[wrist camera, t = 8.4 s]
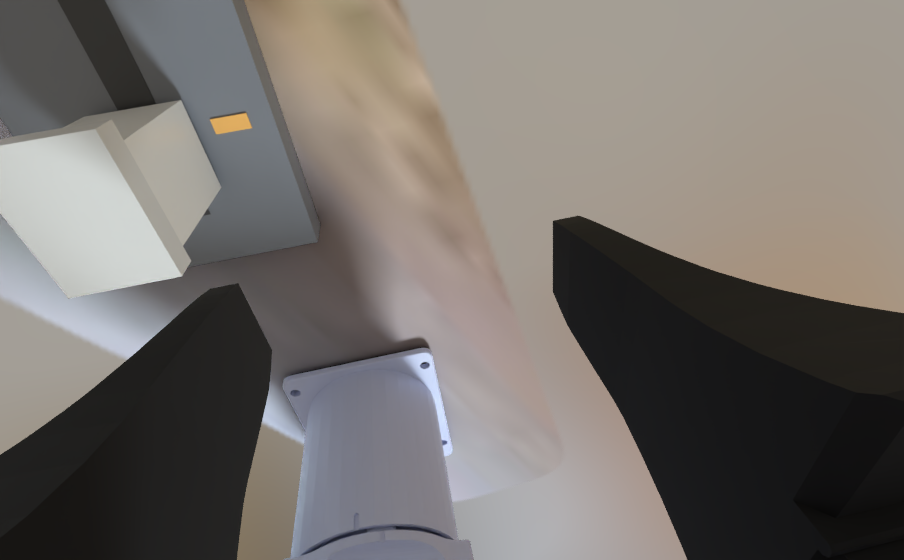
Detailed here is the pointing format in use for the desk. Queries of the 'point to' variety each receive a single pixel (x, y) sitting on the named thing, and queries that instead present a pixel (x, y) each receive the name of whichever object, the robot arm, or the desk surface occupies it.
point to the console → (165, 80)
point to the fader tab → (108, 196)
